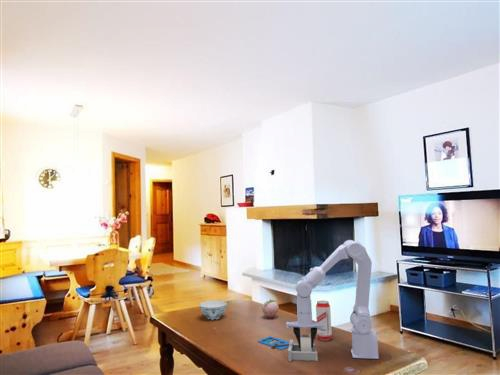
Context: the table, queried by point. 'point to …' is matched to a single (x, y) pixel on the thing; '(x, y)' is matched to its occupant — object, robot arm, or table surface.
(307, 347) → the block
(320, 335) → the beer can
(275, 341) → the handheld gaming device
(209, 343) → the table surface
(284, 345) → the dark gray rod
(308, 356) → the dock
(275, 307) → the decorative fruit
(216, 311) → the chinaware
